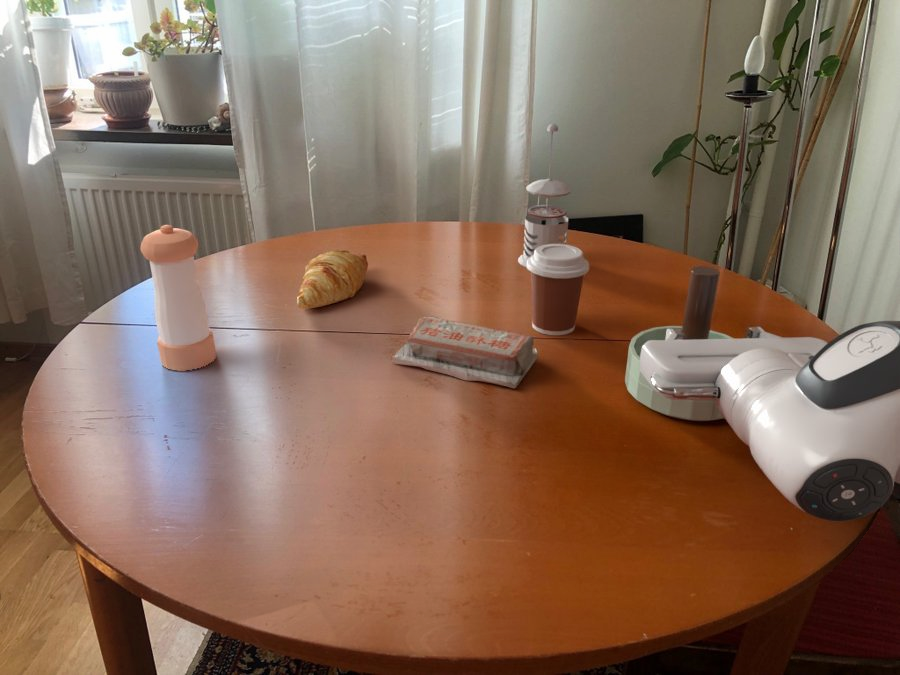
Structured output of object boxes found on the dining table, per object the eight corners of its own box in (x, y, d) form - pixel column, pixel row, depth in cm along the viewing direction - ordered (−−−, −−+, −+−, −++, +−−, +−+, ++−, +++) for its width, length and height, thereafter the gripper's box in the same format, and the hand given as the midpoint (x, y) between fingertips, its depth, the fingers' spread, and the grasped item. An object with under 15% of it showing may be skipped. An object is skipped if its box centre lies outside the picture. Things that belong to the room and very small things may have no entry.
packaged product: (541, 327, 101) (517, 358, 93) (539, 358, 103) (515, 392, 95) (421, 305, 107) (389, 333, 99) (422, 335, 109) (391, 364, 101)
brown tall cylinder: (692, 378, 97) (711, 262, 90) (710, 395, 93) (732, 275, 86) (661, 382, 96) (679, 265, 89) (679, 399, 92) (698, 279, 85)
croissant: (319, 336, 117) (336, 299, 112) (266, 301, 117) (282, 263, 113) (376, 286, 134) (394, 252, 130) (331, 256, 135) (347, 221, 130)
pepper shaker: (219, 365, 101) (198, 230, 92) (163, 375, 98) (136, 237, 90) (213, 343, 107) (193, 214, 98) (159, 352, 104) (134, 220, 96)
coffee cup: (549, 344, 107) (554, 266, 102) (511, 322, 114) (514, 247, 109) (596, 330, 111) (603, 254, 106) (557, 309, 118) (562, 237, 113)
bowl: (706, 359, 103) (712, 320, 100) (774, 416, 90) (784, 373, 87) (605, 372, 100) (609, 332, 97) (661, 433, 86) (667, 388, 84)
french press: (520, 270, 134) (527, 129, 123) (514, 249, 144) (520, 117, 133) (574, 270, 134) (586, 129, 123) (565, 249, 144) (575, 117, 133)
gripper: (656, 423, 75) (620, 359, 87) (853, 418, 76) (790, 355, 88) (664, 368, 72) (626, 310, 84) (869, 363, 73) (802, 306, 85)
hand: (711, 333), depth 86 cm, fingers open, 8 cm apart
